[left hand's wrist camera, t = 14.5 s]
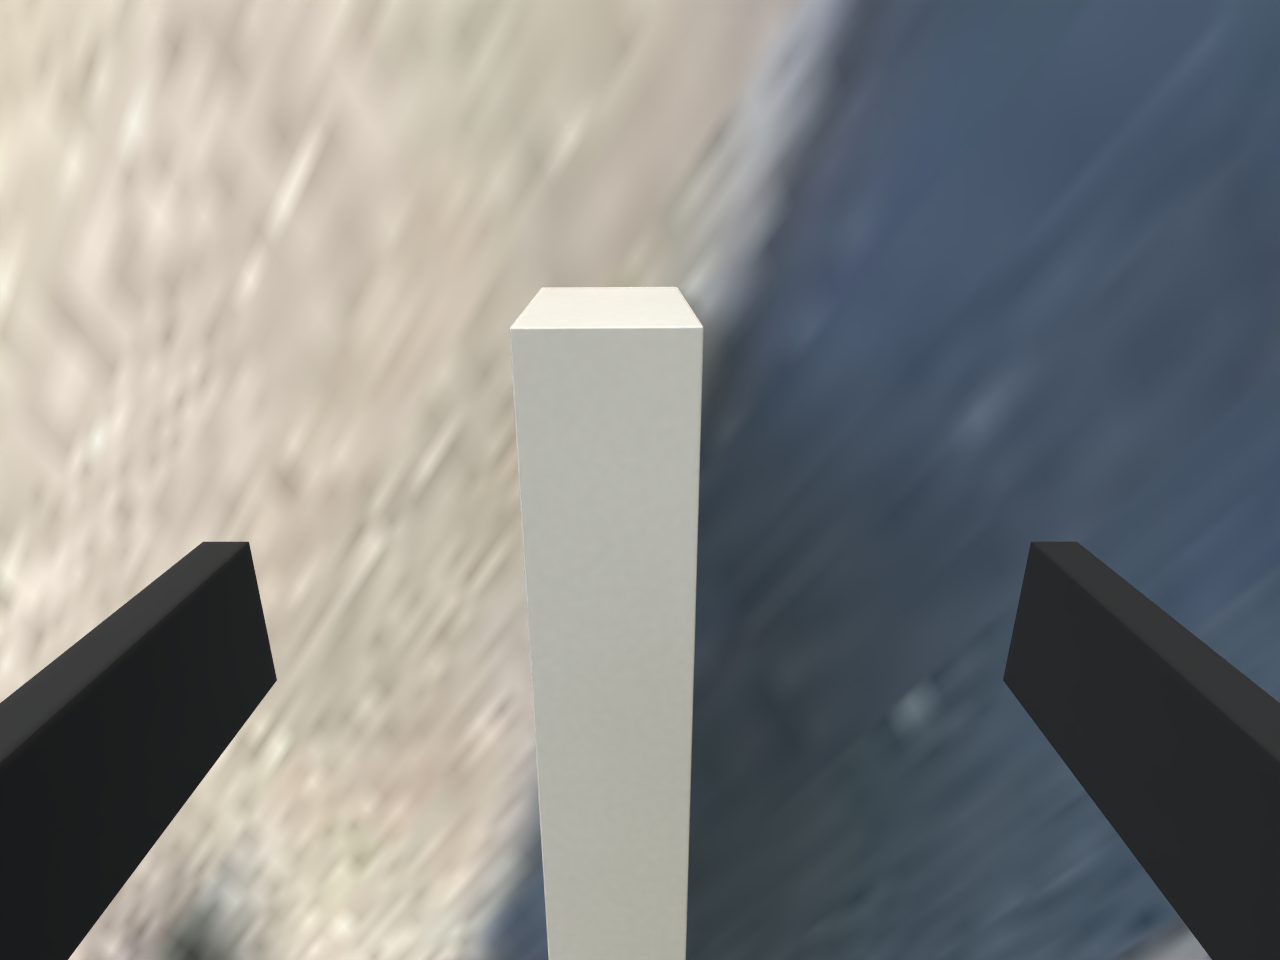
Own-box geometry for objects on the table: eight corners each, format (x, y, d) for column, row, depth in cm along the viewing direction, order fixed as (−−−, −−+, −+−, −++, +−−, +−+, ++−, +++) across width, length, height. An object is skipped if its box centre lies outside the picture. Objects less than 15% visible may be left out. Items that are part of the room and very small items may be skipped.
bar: (541, 287, 26) (508, 327, 18) (677, 286, 26) (703, 326, 18) (574, 999, 38) (563, 1201, 30) (666, 996, 38) (679, 1197, 31)
